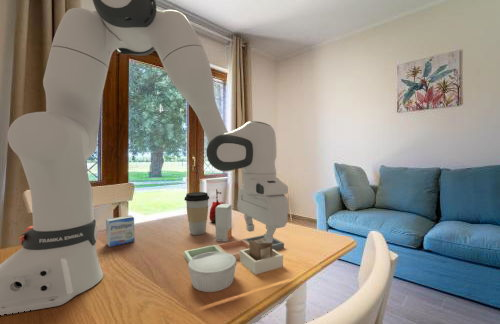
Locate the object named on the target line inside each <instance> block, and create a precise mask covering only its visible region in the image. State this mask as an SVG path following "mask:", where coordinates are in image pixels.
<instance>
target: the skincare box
mask: <svg viewBox="0 0 500 324" xmlns="http://www.w3.org/2000/svg"><path fill="white" fill-rule="evenodd" d="M232 208H233V207H232V203H231V204H230V203H229V204H228V203H224V204H220V205H218V206H217V207H216V208H215V215H216V223H215V241H216V242H229V240H230V238H231V237H232V236H233V235H232V234H233V232H232V231H233V230H232V229H233V228H232V227H233V225H232V223H233V220H232V218H233V217H232V216H233V215H232V213H233V212H232Z"/></svg>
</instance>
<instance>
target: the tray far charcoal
mask: <svg viewBox="0 0 500 324" xmlns="http://www.w3.org/2000/svg"><path fill="white" fill-rule="evenodd" d="M259 238H264V234H262V235H257V236H252V237H247V238H242V239H243V240H245V241H246V242H248V243H249V241H250V240H254V239H259ZM284 248H285V242H283V241H281V240H279V239H277V238H275V237H273V241H272V249H274V250H275V251H277V250H282V249H284Z"/></svg>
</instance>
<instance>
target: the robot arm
mask: <svg viewBox="0 0 500 324" xmlns="http://www.w3.org/2000/svg"><path fill="white" fill-rule="evenodd" d="M92 3H93V6H94V9H95V10H93V11H91V10H90V9H87V8H84V7H83V8H82V7H73V8H69V9H68V10H67V11H66V12H65V13H64V15H63V16H62V18H61V20H60V22H59V24H58V26H57V29H56V30H55V34H54V36H53V40H52V43H51V46H50V50H49V56H48V59H47V62H46V67H45V71H44V75H43V80H42V84H43V85H42V86H43V89H44V92H45V101H46V102H45V107H46V111H35V112H29V113H26V114H23V115H21V116H19V117H17V118H16V119H15V120H14V121H13V122H12V123H11V124H10V126H9V128H8V131H7V141H8V144H9V145H8V146H9V148H11V150H12V151H13V152H14V153H15V154H16V155H17V157H18V159H19V160H20V163H21V166H22V168H23V172H24V174H25V177H26V178H25V179H26V180H27V185H28V187H29V192H30V197H31V211H32V214H31V215H32V225H30V226H28V227H27V228H25V229H24V231H23V233H22V234H21V235H20V237H19V244H21V246H22V247H21V248H20V249H18V250H17V251H15V252H14V253H13V254H12V255H10V256H8V257H7V258H6V259H5V260H4V261H3V262H1V263H0V315H1V316H5V315H4V314H7V315H13V314H19V313H24V311H25V312H29V311H30V310H31V311H35V310H41V309H46V308H53V307H59V306H62V305H64V304H65V303H67V302H69V301H70V300H72V299H73V298H74V297H76V296H77V295H80V294H81V293H82V294H83V293H84V292H86V291H88V290H89V289H91V288H94V286H95V285H97V284H98V283H99V282H100V281H101V280H103V277H104V272H103V270H102V268H101V264H100V260H99V258H98V252H97V246H96V243H97V240H98V235H97V234H98V230H97V229H98V227H97V223H96V219H94V197H93V196H94V195H93V194H94V193H93V186H92V185H91V182H90V178H89V175H88V170H87V166H86V165H87V164H86V161H87V160H88V159H89V158H91V156H93V155H94V153H95V152H96V150H97V148H98V136H99V128H100V119H101V107H102V106H101V104H102V100H103V99H102V98H103V95H104V94H103V93H104V88H105V84H106V80H107V75H108V71H109V69H110V68H109V67H110V63H111V58H112V55H113V53H114V51H116V52H117V53H118V54H121V55H133V56H140V57H141V56H148V55H150V54H152V53H154V52H155V51H156V53H157V55H158V57H159V59H160V62H161V64H162V66H163V68H164V70H165V72H166V74H167V76H168V78H169V80H170V82H171V83H172V84H173V85H174V87H175V88H176V90H177V91H178V93H179V94H180V96H182V97H183V98H184V99H185V101H186V102H187V103H188V104H189V106H190V107H191V108H192V110H193V111H194V113H195V115H196V116H197V118H198V121H199V123H200V125H201V127H202V129H203V131H204V134H205V137H206V140H207V142H208V144H207V147H206V148H207V149H206V158H207V161H208V163H209V164H210V165H211V167H213V168H214V169H216V170H218V171H219V172H225V173H227V172H233V171H236V170H240V169H241V170H242V183H241V185H240V188H239V189H238V193H237V203H236V205H237V206H236V207H237V210H238V211H237V212H239V213H241V214H243V218H244V221H245V224H246V225H245V226H246V230H247V231H248V232H249V233H251V232H255V224H254V221H253V220H256V221H257V222H260V223H261V224H262V225H265V229H266V232H265V233H264V234H263V235H264V241H266V242H267V243H270V242H272V241H273V238H274V235H275V232H276V230H277V229H280V228H285V227H286V225H287V223H288V212H289V211H288V210H289V209H288V206H289V203H288V198H287V196H286V195H288V192H289V187H288V185H287V184H286V183H284V182H283V181H282V180H280V179H279V178H278V177H277V169H276V165H275V164H276V159H277V137H276V132H275V128H274V127H272V126H271V124H269V123H266V122H261V121H256V120H255V121H254V120H251V121H246V122H245V124H242V125H241V126H240V127H238V128H235V129H233V130H232V131H228V130H227V128H226V125H225V122H224V120H223V118H222V115H221V114H220V110H219V109H218V105H217V102H216V97H215V89H214V79H213V78H214V77H213V73H212V69H211V68H212V67H211V65H210V61H209V57H208V56H207V53H206V50H205V48H204V46H203V43H202V42H201V40H200V38H199V36H198V34H197V32H196V31H195V29H194V27H193V25H192V24H191V22H190V21H189V19H188V18H187V17H186V15H184V14H183V13H182V12H180V11H178V10H174V9H166V10H159V9H158V8H157V7H158V6H157V2H156V0H92ZM18 312H19V313H18ZM12 313H13V314H12Z"/></svg>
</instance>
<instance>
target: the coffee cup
mask: <svg viewBox="0 0 500 324" xmlns="http://www.w3.org/2000/svg"><path fill="white" fill-rule="evenodd" d="M209 200H210V195H208V192H204V191H203V192H202V191H197V192H196V191H195V192H188V193H186V194H185V196H184V200H183V201H184V202H186V212H187V221H188V226H189V233H190V234H191V235H192V236H199V235H200V236H202V235H203V234H206V233H207V222H208V221H207V220H208V213H209V212H208V211H209Z"/></svg>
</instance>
